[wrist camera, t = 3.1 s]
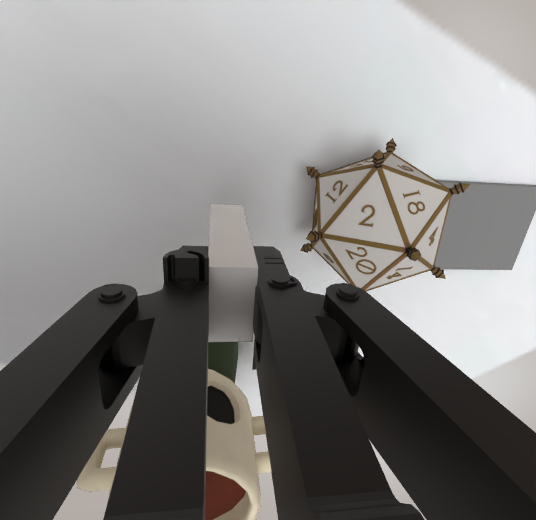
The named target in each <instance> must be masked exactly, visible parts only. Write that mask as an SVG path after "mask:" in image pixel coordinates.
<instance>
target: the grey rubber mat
mask: <svg viewBox="0 0 536 520" xmlns="http://www.w3.org/2000/svg"><path fill="white" fill-rule="evenodd" d="M436 181H438V182H439V183H441V184H443V185H444V186H446V187H447V188H452V187H453V186H454V184H456V185H457V184H459V182H458V181H439V180H436ZM461 183H466V184H470V186H469V187H468V188H467V189H466V190H465V191H464V193H463V192H462V193H459V194H453V195H452V197H451V201H450V205H449V209H448V213H447V217H446V221H445V225H444V229H443V233H442V237H441V241H440V245H439V249H438V253H437V257H436V261H435V267H438V268H439V267H440V269H474V270H512V268H513V266H514V263H515V261H516V258H517V256H518V253H519V251H520V248H521V246H522V243H523V241H524V238H525V236H526V233H527V231H528V228H529V226H530V223H531V221H532V218H533V216H534V213H535V211H536V185H516V184H497V183H478V182H461Z"/></svg>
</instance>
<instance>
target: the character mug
mask: <svg viewBox="0 0 536 520" xmlns="http://www.w3.org/2000/svg"><path fill="white" fill-rule="evenodd" d="M237 360H238V342H208V390H207V438H206V487H205V520H256V519H257V516H258V513H259V510H260V507H261V494H260V486H259V476H258V474H259V473H268V472H271V465H270V458H269V452H260V453H256V451H255V442H254V435H261V434H266V431H265V424H264V417H263V416H258V417H252V415H251V411H250V408H249V404H248V401H247V398H246V396H245V395H244V394H243V392H242V391H241V390H240V389H239V388H238V387H237V386H236V385H235V376H236V368H237ZM131 410H132V408H131ZM130 414H131V412H130ZM129 418H130V416H129ZM128 422H129V419H128ZM127 426H128V423H127ZM127 426H126V428H118V429H107V431H106V433H105V434H104V436H103V438H102V439H101V441H100V442H99V444H98V446H97V447H96V449H95V451H94V452H93V454H92V456H91V457H90V459H89V461H88V462H87V464H86V465H85V467H84V469H83V470H82V472H81V474H80V475H79V477H78V479H77V488H78V489H81V490H84V491H89V492H93V491H102V490H110V492H111V488H112V484H113V480H114V477H115V473H116V469H117V466H116V467H110V468H100V467H101V463H102V460H103V457H104V453H105V451H106V450H107V449H111V448H121V449H122V445H123V441H124V437H125V434H126V430H127ZM120 453H121V450H120ZM119 457H120V454H119ZM118 461H119V458H118ZM117 465H118V462H117ZM110 492H109V496H110ZM108 500H109V499H108Z"/></svg>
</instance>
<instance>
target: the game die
mask: <svg viewBox="0 0 536 520" xmlns="http://www.w3.org/2000/svg"><path fill="white" fill-rule="evenodd" d="M386 146H387V147H386V150H387V152H386V153H382V152H381V151H380V150H378V151H377V152H376V153H375V154H374V155H373V156H372V157H371V158H368V159H365V160H362V161H359V162H356V163H353V164H350V165H347V166H344V167H341V168H338V169H335V170H332V171H329V172H326V173H323V174H319V173H318V170H316V169H315V167H306V169H307V172H308V175H310V176H311V178H312V177H313V178H316V190H315V202H314V214H313V227H312V231H311V232H310V233H309V234H308V237H307V238H306V239H308V240H310V242H311V244H309V243H307V244H304V245H303V247H302V249H301V250H300V251H304V252H307V253H308V251H311V250H312V249H314V250H315V251H316V252H317V253H318V254H319V255H320V256H321V257H322V258H323V259H324V260H325V261H326V262H327V263H328V264H329V265H330V266H331V267H332V268H333V269H334V270H335V271H336V272H337V273H338V274H339V275H340V276H341V277H342V278H343V279H344V280H345V281H346V282H347V283H348V284H352V285H354V286H356V287H359V288H361V289H362V290H364V291H368V290H371V289H374V288H378V287H381V286H384V285H387V284H390V283H393V282H396V281H399V280H402V279H405V278H408V277H411V276H414V275H417V274H420V273H423V272H427V271H431V272H432V273H433V274H432V275H435V276H436V278H444V279H446V278H445V275H444V270H441V269H440V267H439V268H438V267H435V261H436V257H437V253H438V249H439V245H440V241H441V237H442V233H443V229H444V225H445V221H446V217H447V213H448V209H449V205H450V201H451V197H452V195H453V194H459V193H462V192H463V193H464V191H465V190H466V189H467V188H468V187H469V186H470V184H466V183H461V182H459V184H457V185H456V184H454V186H453V187H452V188H447V187H446V186H444V185H443V184H441V183H439V182H438V181H436V180H435V179H433V178H431V177H430V176H428V175H427V174H425V173H424V172H422V171H420V170H419V169H417V168H416V167H414V166H412V165H411V164H409V163H408V162H406V161H404V160H403V159H401V158H400V157H398V156H396V155H395V154H393V151H394V150H395V146H397V145H396V144H395V142H394V140H393V138H392V139H391V140H390V142H388V143H387V144H386Z"/></svg>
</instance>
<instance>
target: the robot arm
mask: <svg viewBox="0 0 536 520" xmlns="http://www.w3.org/2000/svg"><path fill="white" fill-rule="evenodd" d="M163 269H164V285H163V289H162V290H160V291H158V292H155V293H152V294H148V295H143V296H137V292H136V289H134V288H133V287H131V286H128V285H124V284H111V285H109V284H108V285H104V286H101V287H99V288H96V289H94V290H92V291H91V292H89V293H88V294H87V295H86V296H85V297H83V298H82V299H81V300H80V301H79V302H78V303H77V304H76V305H74V306H73V307H72V308H71V309H70V310H69V311H68V312H67V313H65V314H64V315H63V316H62V317H61V318H60V319H59V320H57V321H56V322H55V323H54V324H53V325H52V326H51V327H50V328H48V329H47V330H46V331H45V332H44V333H43V334H42V335H41V336H39V337H38V338H37V339H36V340H35V341H34V342H33V343H32V344H30V345H29V346H28V347H27V348H26V349H25V350H24V351H22V352H21V353H20V354H19V355H18V356H17V357H16V358H15V359H13V360H12V361H11V362H10V363H9V364H8V365H7V366H6V367H4V368H3V369H2V370H1V371H0V520H53V518H54V516H55V515H56V513H57V511H58V510H59V508H60V506H61V505H62V503H63V502H64V500H65V498H66V497H67V495H68V493H69V492H70V490H71V489H72V487H73V485H74V484H75V482H76V480H77V479H78V477H79V475H80V474H81V472H82V470H83V469H84V467H85V465H86V464H87V462H88V461H89V459H90V457H91V456H92V454H93V452H94V451H95V449H96V447H97V446H98V444H99V442H100V441H101V439H102V438H103V436H104V434H105V433H106V431H107V429H108V428H109V426H110V424H111V423H112V421H113V419H114V418H115V416H116V414H117V413H118V411H119V410H120V408H121V406H122V405H123V403H124V401H125V399H126V398H127V396H128V395H129V393H130V391H131V390H132V388H133V387H134V385H135V383H136V382H137V380H138V378H139V377H140V379H139V383H138V387H137V391H136V395H135V399H134V402H133V406H132V410H131V414H130V418H129V422H128V426H127V430H126V434H125V437H124V441H123V445H122V449H121V453H120V457H119V461H118V465H117V469H116V473H115V477H114V480H113V484H112V488H111V492H110V496H109V500H108V504H107V508H106V512H105V516H104V519H103V520H205V487H206V438H207V390H208V342H238V341H253V333H254V335H255V342H254V356H253V369H252V370H254V369H257V376H258V383H259V389H260V396H261V403H262V410H263V417H264V424H265V431H266V437H267V445H268V451H269V458H270V465H271V472H272V479H273V486H274V493H275V500H276V506H277V513H278V520H424V518H423V517H422V515H421V513H420V512H419V511H418V510H417V509H415V508H414V507H413V506H412V505H411V504H403V503H400V502H399V501H398V500H397V499H396V498H395V497H394V495H393V493H392V491H391V489H390V487H389V484H388V482H387V480H386V478H385V475H384V473H383V471H382V468H381V466H380V464H379V462H378V459H377V457H376V455H375V452H374V450H373V448H372V446H371V443H372V444H373V445H374V447H375V448H376V449H377V451H378V452H379V454H380V455H381V456H382V458H383V459H384V460H385V462H386V463H387V465H388V466H389V468H390V469H391V470H392V472H393V473H394V474H395V476H396V477H397V479H398V480H399V481H400V483H401V484H402V486H403V487H404V488H405V490H406V491H407V493H408V494H409V496H410V497H411V498H412V500H413V501H414V503H415V504H416V505H417V507H418V508H419V510H420V511H421V512H422V514H423V515H424V517H425V518H426V519H427V520H536V433H535V432H534V431H533V430H532V429H530V428H529V427H528V426H527V425H526V424H524V423H523V422H522V421H521V420H520V419H518V418H517V417H516V416H515V415H514V414H512V413H511V412H510V411H509V410H507V409H506V408H505V407H504V406H503V405H502V404H500V403H499V402H498V401H497V400H495V399H494V398H493V397H492V396H491V395H490V394H488V393H487V392H486V391H485V390H484V389H482V388H481V387H480V386H479V385H478V384H476V383H475V382H474V381H473V380H472V379H470V378H469V377H468V376H467V375H465V374H464V373H463V372H462V371H461V370H459V369H458V368H457V367H456V366H455V365H453V364H452V363H451V362H450V361H449V360H447V359H446V358H445V357H444V356H443V355H441V354H440V353H439V352H438V351H437V350H435V349H434V348H433V347H432V346H431V345H429V344H428V343H427V342H426V341H425V340H423V339H422V338H421V337H420V336H419V335H417V334H416V333H415V332H414V331H413V330H411V329H410V328H409V327H408V326H407V325H405V324H404V323H403V322H402V321H401V320H399V319H398V318H397V317H396V316H395V315H393V314H392V313H391V312H390V311H389V310H387V309H386V308H385V307H384V306H383V305H381V304H380V303H379V302H378V301H377V300H375V299H374V298H373V297H372V296H370V295H369V294H368V293H367V292H366V291H364V290H362V289H361V288H359V287H356V286H354V285H352V284H347V283H342V284H333V285H330V286H329V287H328V288H326V294H325V295H320V294H314V293H310V292H306V291H304V290H303V288H302V285H301V283H300V282H299V281H298V279H296V278H294V277H292V276H290V275H289V273H288V270H287V268H286V265H285V263H284V260H283V258H282V255H281V253H280V251H278V250H277V249H276V248H274V247H264V246H253V244H252V240H251V236H250V232H249V228H248V223H247V219H246V215H245V211H244V207H243V205H231V204H210V224H209V246H182V247H181V248H180V249H179V250H175V251H171V252H169V253H167V254H165V256H164V257H163ZM359 347H360V348H361V350H362V352H363V354H364V357H362V356H361V355H360V354H359V353H358V348H359ZM368 438H369V439H368ZM369 440H370V441H371V443H370V441H369Z"/></svg>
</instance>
